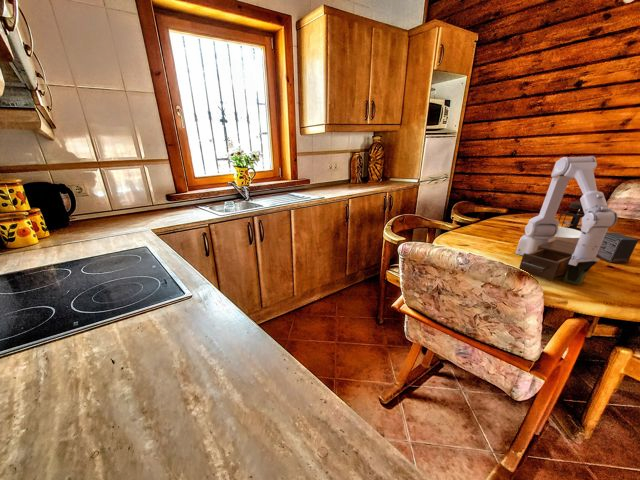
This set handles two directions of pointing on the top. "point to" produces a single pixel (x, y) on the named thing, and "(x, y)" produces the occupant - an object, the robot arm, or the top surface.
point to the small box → (616, 247)
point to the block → (579, 280)
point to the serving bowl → (567, 235)
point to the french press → (576, 217)
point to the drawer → (545, 263)
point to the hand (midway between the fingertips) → (574, 278)
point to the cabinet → (559, 247)
